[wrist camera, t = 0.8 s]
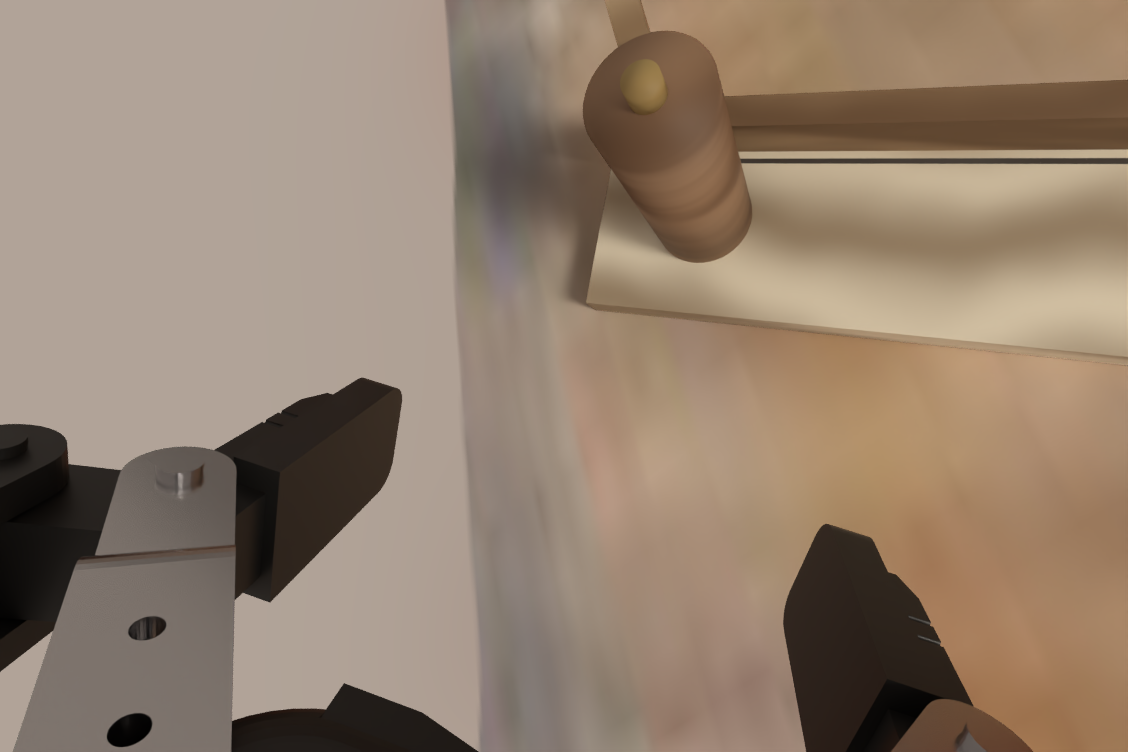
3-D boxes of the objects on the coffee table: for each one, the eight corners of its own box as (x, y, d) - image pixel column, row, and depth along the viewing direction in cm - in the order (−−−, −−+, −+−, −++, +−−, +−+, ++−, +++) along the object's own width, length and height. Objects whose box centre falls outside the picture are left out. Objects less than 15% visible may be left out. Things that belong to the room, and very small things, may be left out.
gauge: (625, 117, 34) (531, -53, 23) (710, 78, 32) (654, -125, 21) (670, 276, 32) (590, 170, 21) (764, 242, 30) (732, 109, 19)
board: (627, 141, 35) (604, 101, 32) (1201, 133, 25) (1267, 74, 22) (595, 309, 35) (568, 289, 31) (1175, 370, 25) (1239, 351, 21)
